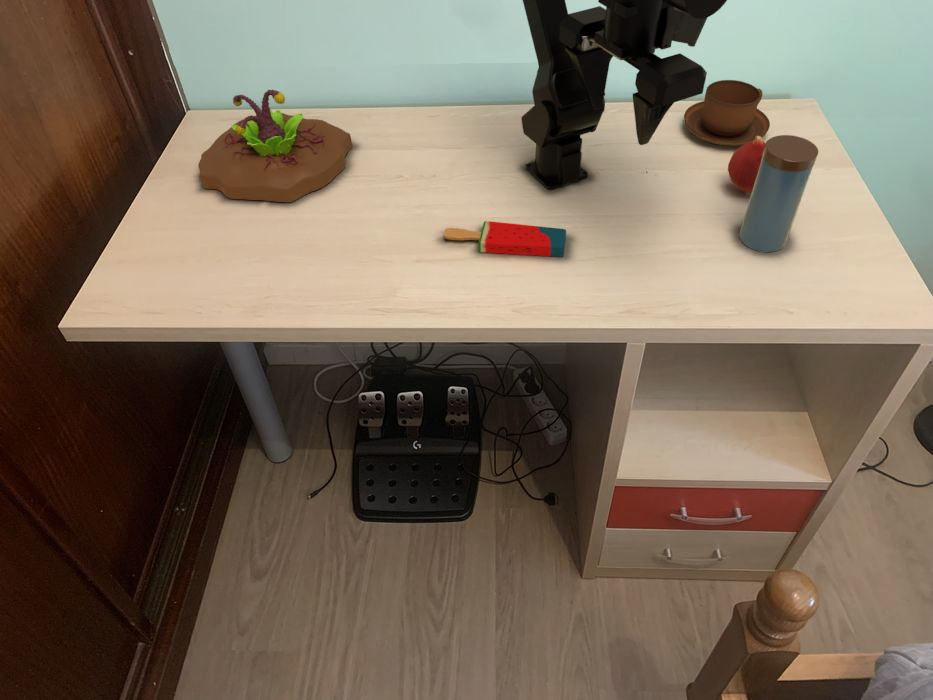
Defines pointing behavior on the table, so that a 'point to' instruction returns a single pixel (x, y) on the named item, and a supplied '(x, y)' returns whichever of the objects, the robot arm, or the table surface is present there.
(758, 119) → the cup and saucer
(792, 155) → the spice jar
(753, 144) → the onion
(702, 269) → the table surface
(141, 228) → the table surface
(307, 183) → the plant
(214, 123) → the table surface
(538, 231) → the popsicle
